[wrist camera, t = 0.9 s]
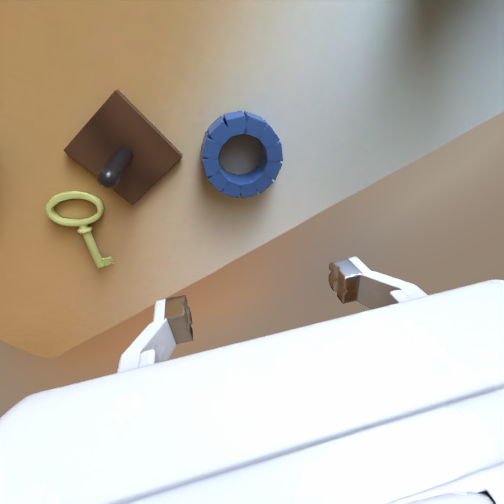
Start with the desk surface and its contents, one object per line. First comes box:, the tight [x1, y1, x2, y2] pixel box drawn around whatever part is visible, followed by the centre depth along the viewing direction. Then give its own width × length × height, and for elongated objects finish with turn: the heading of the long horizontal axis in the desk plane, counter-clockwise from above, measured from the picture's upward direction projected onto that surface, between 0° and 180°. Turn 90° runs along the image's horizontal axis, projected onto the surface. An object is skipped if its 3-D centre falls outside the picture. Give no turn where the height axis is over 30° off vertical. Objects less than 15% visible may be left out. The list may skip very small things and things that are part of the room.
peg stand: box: [64, 90, 182, 204], centre depth 32 cm, size 10×10×11 cm
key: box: [46, 191, 114, 268], centre depth 41 cm, size 7×12×2 cm, turn 23°
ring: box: [202, 111, 283, 198], centre depth 38 cm, size 10×10×4 cm
